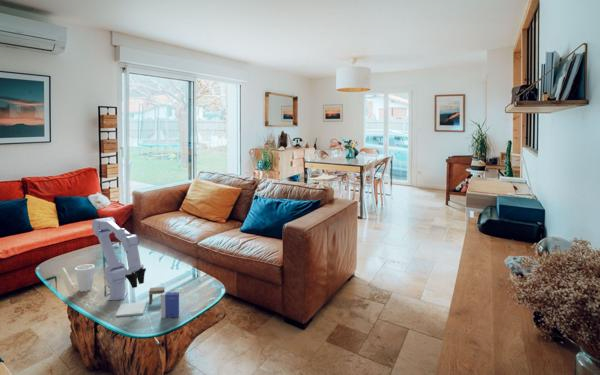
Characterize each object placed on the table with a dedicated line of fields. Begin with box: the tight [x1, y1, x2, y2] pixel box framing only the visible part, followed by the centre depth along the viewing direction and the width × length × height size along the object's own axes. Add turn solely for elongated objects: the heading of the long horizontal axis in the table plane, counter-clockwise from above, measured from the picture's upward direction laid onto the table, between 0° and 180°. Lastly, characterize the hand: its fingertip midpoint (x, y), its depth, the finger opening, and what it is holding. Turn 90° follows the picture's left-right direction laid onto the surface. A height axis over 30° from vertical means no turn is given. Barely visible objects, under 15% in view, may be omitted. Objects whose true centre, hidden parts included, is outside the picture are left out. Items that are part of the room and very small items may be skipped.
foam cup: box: [74, 263, 96, 292], centre depth 193 cm, size 10×9×13 cm
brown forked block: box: [148, 286, 165, 305], centre depth 182 cm, size 4×7×7 cm, turn 106°
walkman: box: [160, 291, 180, 319], centre depth 167 cm, size 8×3×12 cm, turn 96°
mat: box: [115, 301, 148, 318], centre depth 173 cm, size 12×12×1 cm
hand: (138, 285), depth 175 cm, fingers open, 7 cm apart
